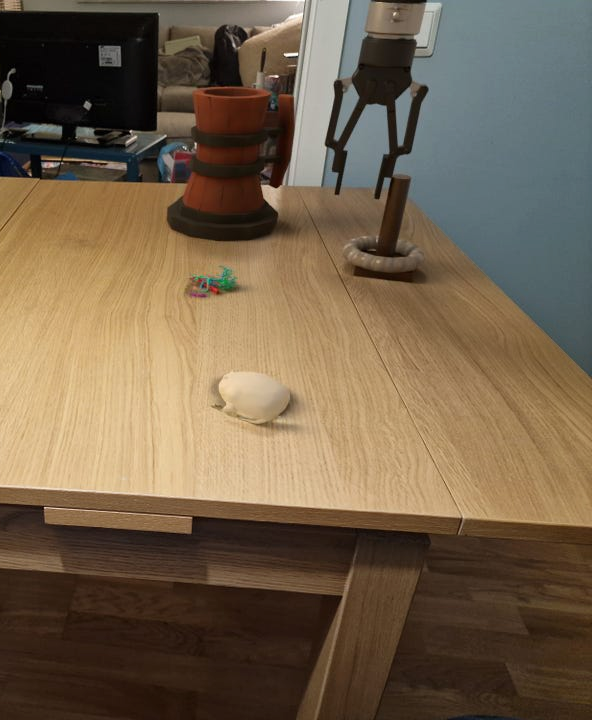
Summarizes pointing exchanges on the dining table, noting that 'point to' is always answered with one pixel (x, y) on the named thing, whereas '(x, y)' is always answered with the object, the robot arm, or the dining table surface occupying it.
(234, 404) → the garlic
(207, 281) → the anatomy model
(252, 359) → the dining table surface
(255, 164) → the tankard
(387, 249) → the stand
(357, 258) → the bracelet
